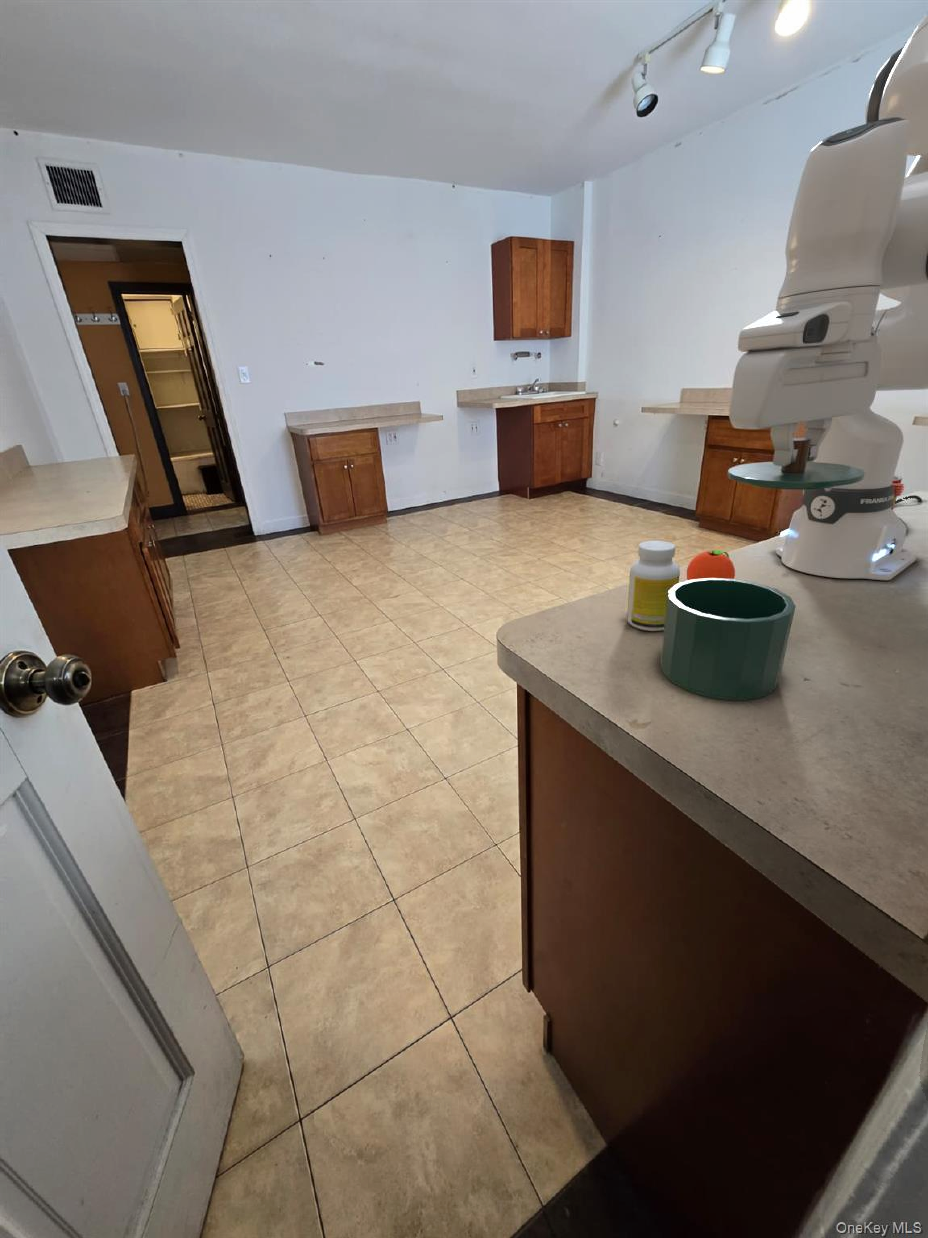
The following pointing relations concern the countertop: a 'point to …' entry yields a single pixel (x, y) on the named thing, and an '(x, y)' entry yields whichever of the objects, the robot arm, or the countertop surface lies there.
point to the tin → (725, 637)
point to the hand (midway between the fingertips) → (794, 462)
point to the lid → (796, 472)
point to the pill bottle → (651, 584)
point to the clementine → (711, 566)
